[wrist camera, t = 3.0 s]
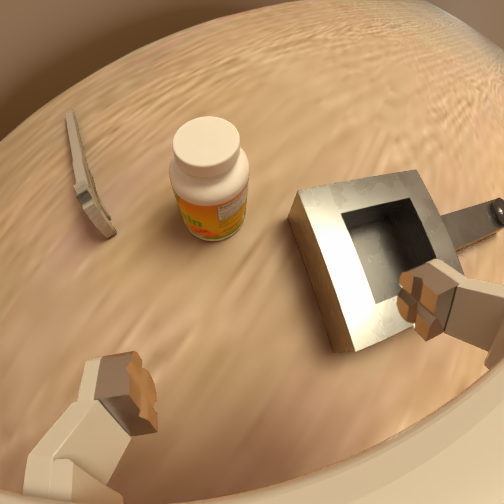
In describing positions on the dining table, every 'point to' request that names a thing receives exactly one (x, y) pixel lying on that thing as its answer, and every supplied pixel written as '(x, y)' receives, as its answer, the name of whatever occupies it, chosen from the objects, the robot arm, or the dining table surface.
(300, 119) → the dining table surface
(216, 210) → the supplement bottle
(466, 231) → the ratchet holder
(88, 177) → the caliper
